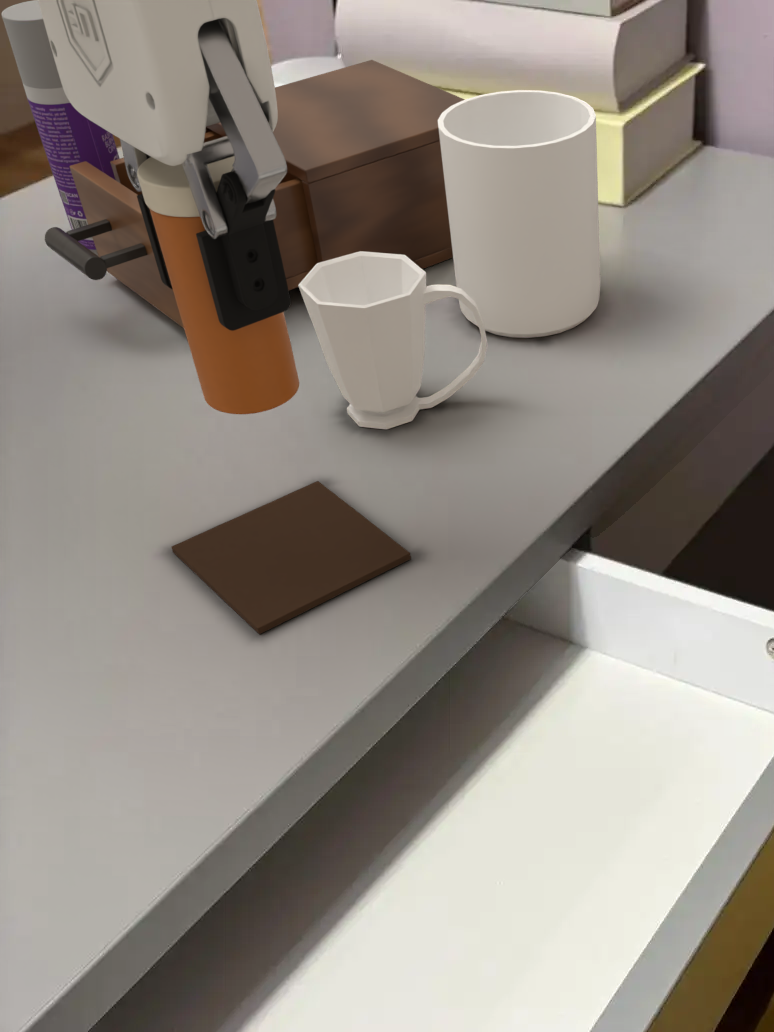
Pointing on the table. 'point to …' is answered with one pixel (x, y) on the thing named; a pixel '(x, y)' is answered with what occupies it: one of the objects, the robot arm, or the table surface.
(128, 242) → the drawer
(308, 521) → the coaster
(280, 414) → the table surface
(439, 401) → the cup
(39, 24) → the container
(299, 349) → the table surface
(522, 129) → the mug
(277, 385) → the spice jar
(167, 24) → the robot arm
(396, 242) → the cabinet
